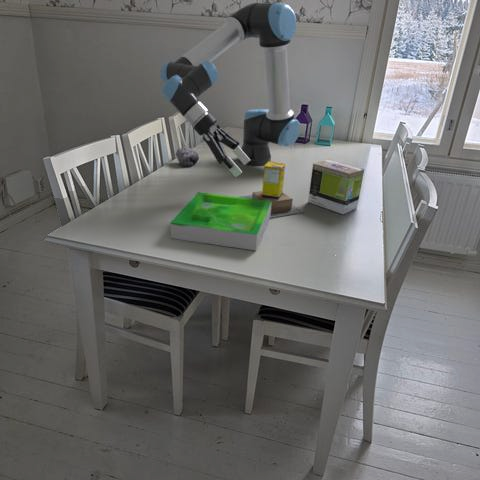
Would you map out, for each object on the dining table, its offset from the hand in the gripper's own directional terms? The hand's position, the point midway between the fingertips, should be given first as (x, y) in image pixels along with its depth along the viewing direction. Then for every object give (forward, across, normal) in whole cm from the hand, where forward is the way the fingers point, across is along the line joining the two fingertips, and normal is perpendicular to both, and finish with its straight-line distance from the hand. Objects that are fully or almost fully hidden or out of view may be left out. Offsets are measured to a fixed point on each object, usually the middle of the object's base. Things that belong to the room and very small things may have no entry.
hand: (243, 168), depth 141 cm
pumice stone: (-14, -35, -32) cm, 50 cm away
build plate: (+16, -1, -3) cm, 16 cm away
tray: (+8, +21, -10) cm, 24 cm away
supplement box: (+13, 0, +1) cm, 14 cm away
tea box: (+31, -9, +13) cm, 35 cm away
